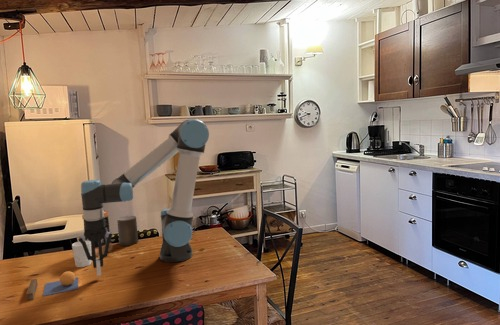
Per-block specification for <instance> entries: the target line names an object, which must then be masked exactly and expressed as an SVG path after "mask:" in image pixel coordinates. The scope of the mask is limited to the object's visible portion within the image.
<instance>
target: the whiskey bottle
mask: <svg viewBox="0 0 500 325" xmlns="http://www.w3.org/2000/svg"><path fill="white" fill-rule="evenodd" d="M103 211H104V217H103V218H104V223H105V229H106V231H107V232H111V230H110V223H109V214H110V213H109V211H107V210H106V209H105V210H104V209H103ZM81 216H82V220H83V222H84V221H85V219H84V216H83V214H82V215H81ZM83 231H84V232H85V226H84V225H83ZM84 232H83V233H84ZM106 239H107V237H106V234H105V236H104V237H103V239H102V240H101V244H102V254H104V250H105V245H106ZM85 241H89V240H88V239H87V238H86V237H85ZM94 243H95V254H96V257H99V247H98V241H95V242H94ZM112 251H113V242H112V238H111V239H110V243H109V249H108V253H110V252H112ZM91 255H92V246H91Z"/></svg>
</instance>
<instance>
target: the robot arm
mask: <svg viewBox="0 0 500 325" xmlns="http://www.w3.org/2000/svg"><path fill="white" fill-rule="evenodd" d="M209 136H210V132H209V128H208V125H206V124H205V122H204V121H202V120H200V119H197V118H190V119H186V120H183V121H182V122H181V123H180V124H179V125H178V126H177V127H176V128H175V129H174V130H173V131H171V133H169V134H168V137H167V139H165V140H164V141H163V142H162V143H160V144H159V145H158V146H157V147H155V148H154V149H153V150H151V151H150V152H149V153H148V154H146V155H145V156H144V157H142V158H141V159H140V160H138V161H137V162H136V163H135V164H133V165H132V166H131V167H130V168H128V169H127V170H126V171H125V172H124V173H122V174H121V175H120V176H119V177H117V178H115V179H113V180H112V181H111V183H108V184H107V183H106V184H102V182H101V180H99V179H90V180H85V181H82V182H81V184H80V192H81V193H80V195H81V204H82V215H83V216H84V219H85V221H84V219H83V227H84V226H85V232H83V235H80V236H79V237H78V242H79V241H80V243H81V244H82V246H83V248H84V251H85V253H86V256H87V259H88V260H92V267H93V269H96V276H97V277H100V276H102V269H101V267H102V268H103V267H104V259H105V258H107V257H108V253H109V252H108V249H109V243H110V239H111V240H112V237H113V232H111V231H110V232H107V231H106V229H105V223H104V218H103V217H104V211H103V210H104V204H107V203H108V204H109V203H110V204H111V203H120V202H121V203H122V202H125V203H126V202H128V201H133V200H134V191H133V190H134V189H133V188H135V187H136V186H137V185H138V184H139V183H141V182H142V181H144V180H145V179H146V178H147V177H148V176H150V175H151V174H152V173H154V172H155V171H156V170H157V169H159V168H160V167H161V166H162V165H164V164H165V163H166V162H167V161H168V160H171V158H173V156H175V155H176V154H178V153H179V155H178V161H177V168H176V174H175V180H174V186H173V192H172V198H171V205H170V207H169V208H165V209H162V210H161V211H160V219H161V220H160V222H161V235H162V242H161V243H162V244H161V247H160V251H159V260H161V261H162V262H165V263H178V262H183V261H186V260H189V259H190V258H192V257H193V255H194V254H193V248H192V245H191V243H190V241H191V239H192V237H193V221H194V214H193V212H192V206H193V205H192V204H193V200H194V193H195V187H196V182H197V181H196V180H197V175H198V170H199V164H200V158H201V156H202V155H203V154H204V153H205V149H206V144H207V142H208V141H209V138H210V137H209ZM105 234H106V237H107V239H106V245H105V250H104V254H102V244H101V240H102V239H103V237H104V236H105ZM85 237H86V238H87V239H88V240H89V241H91V246H92V256H91V255H90V253H89V250H88V248H87V245H86V242H85ZM95 241H98V247H99V256H98V258H97V256H96V254H95V243H94V242H95Z"/></svg>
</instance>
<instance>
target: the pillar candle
mask: <svg viewBox="0 0 500 325" xmlns="http://www.w3.org/2000/svg"><path fill="white" fill-rule="evenodd" d="M116 220H117V234H118V243H119V244H118V245H120V246H123V247H124V246H133V245H135V244H138V243H139V237H138V236H139V234H138V224H137V223H138V222H137V216H136V215H124V216H120V217H118V218H117V219H116Z"/></svg>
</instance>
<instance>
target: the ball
mask: <svg viewBox="0 0 500 325" xmlns="http://www.w3.org/2000/svg"><path fill="white" fill-rule="evenodd" d="M75 278H76V274H75V273H74V272H72V271H68V270H67V271H65V272H63V273H62V274H61V275H60V277H59V281H60V282H61V284H62V285H65V286H69V285H71V284H72V283H73V282H74V281H75Z"/></svg>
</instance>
